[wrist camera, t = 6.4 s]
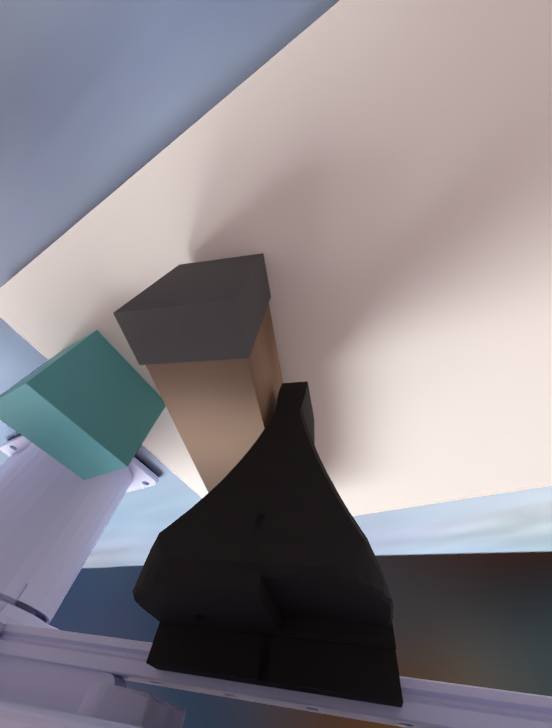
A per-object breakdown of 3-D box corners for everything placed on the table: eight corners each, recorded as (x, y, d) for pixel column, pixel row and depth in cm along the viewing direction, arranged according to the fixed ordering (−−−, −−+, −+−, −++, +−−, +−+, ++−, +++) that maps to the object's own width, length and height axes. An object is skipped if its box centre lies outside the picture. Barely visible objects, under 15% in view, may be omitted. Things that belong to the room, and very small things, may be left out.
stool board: (244, 518, 24) (228, 593, 20) (6, 292, 14) (-125, 347, 10) (590, 457, 16) (690, 565, 12) (599, -196, 6) (1338, -1140, 2)
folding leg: (307, 510, 19) (304, 596, 15) (260, 508, 20) (247, 591, 16) (263, 253, 10) (229, 309, 6) (178, 264, 11) (100, 321, 7)
